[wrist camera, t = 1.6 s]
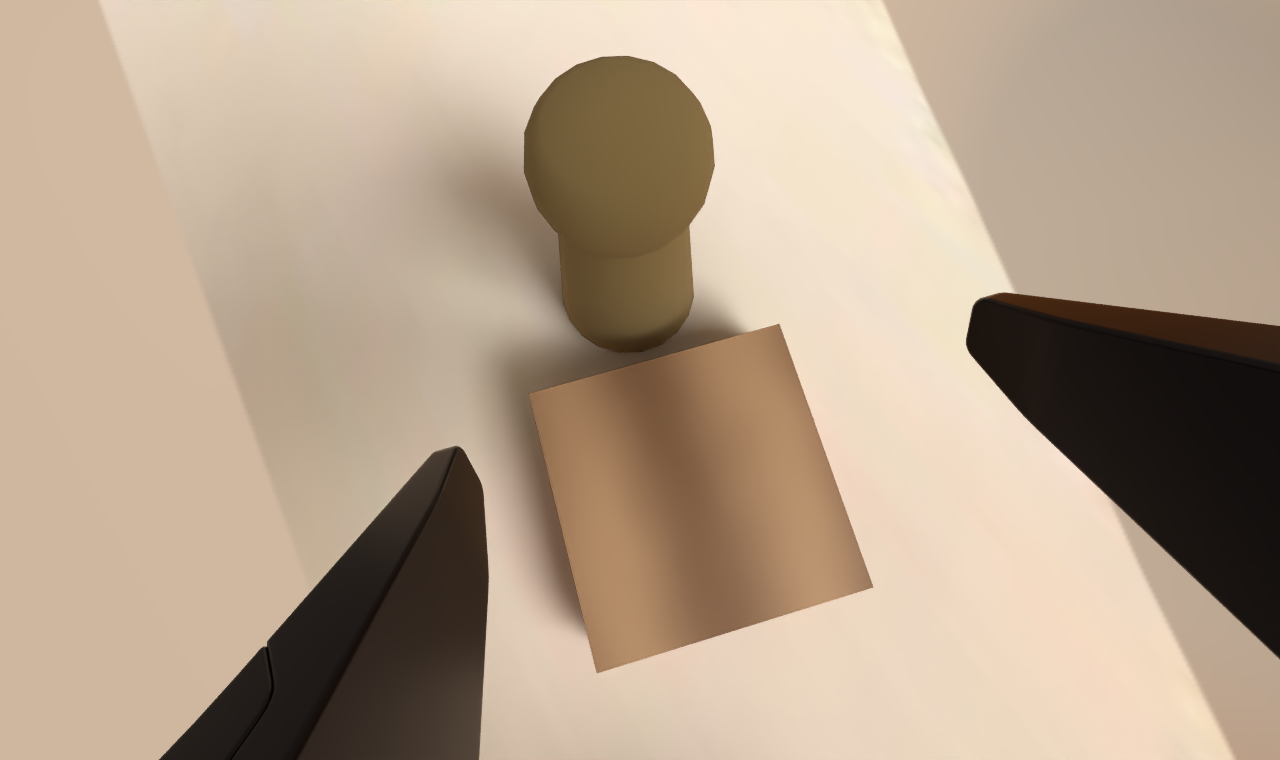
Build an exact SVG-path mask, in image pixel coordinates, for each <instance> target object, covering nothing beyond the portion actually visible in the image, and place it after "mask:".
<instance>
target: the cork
mask: <svg viewBox="0 0 1280 760" xmlns="http://www.w3.org/2000/svg"><path fill="white" fill-rule="evenodd" d="M714 167H715V164H714V150H713V138H712V131H711V126H710V123H709V121H708V119H707V117H706V114H705V112H704V110H703V108H702V105H701V103H700V102H699V100H698V99H697V98H696V96H695V95H694V94H693V93H692V92H691V91H690V89H689V88H688V87H687V86H686V85H685V84H684V83H683V82H682V81H681V80H680V79H679V78H678V77H677V76H676V75H675V74H674V73H672V72H670V71H668V70H667V69H665V68H663V67H661V66H660V65H658V64H656V63H654V62H651V61H647V60H643V59H639V58H634V57H630V56H613V57H600V58H597V59H593V60H590V61H587V62H584V63H580V64H577V65H575V66H574V67H572V68H571V69H569V70H568V71H566V72H565V73H563V74H562V75H560V76H559V77H557V78H556V79H555V80H554V81H553V82H552V83H551V85H550V86H549V87H548V88H547V89H546V91H545V92H544V93H543V94H542V95H541V97H540V98H539V100H538V101H537V103H536V105H535V106H534V108H533V111H532V114H531V116H530V119H529V121H528V124H527V127H526V129H525V132H524V174H525V177H526V179H527V182H528V185H529V188H530V191H531V194H532V196H533V199H534V201H535V204H536V206H537V209H538V210H539V212H540V213H541V214H542V215H543V217H544V218H545V219H546V220H547V222H548V223H549V224H550V225H551V226H552V228H553V229H554V230H555V231H556V232H557V233H558V236H559V250H560V264H561V278H562V292H563V302H564V305H565V308H566V311H567V313H568V316H569V319H570V321H571V322H572V323H573V324H574V326H575V327H576V328H577V330H578V331H579V332H580V333H581V335H582V336H584V337H585V338H587V339H588V340H590V341H591V342H593V343H594V344H596V345H598V346H599V347H602V348H606V349H609V350H613V351H617V352H641V351H644V350H647V349H649V348H652V347H655V346H658V345H661V344H662V343H663V342H665V341H666V340H667V339H669V338H670V337H671V336H673V335H674V334H675V333H676V332H677V331H678V330H679V328H680V327H681V326H682V324H683V323H684V321H685V320H686V318H687V317H688V315H689V312H690V308H691V304H692V301H693V297H694V293H693V277H692V261H691V246H690V231H689V225H690V223H691V222H692V220H693V219H694V218H695V216H696V215H697V213H698V212H699V211H700V209H701V208H702V206H703V205H704V203H705V199H706V196H707V192H708V189H709V185H710V182H711V178H712V174H713V170H714Z"/></svg>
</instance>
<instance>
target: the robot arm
mask: <svg viewBox="0 0 1280 760" xmlns="http://www.w3.org/2000/svg"><path fill="white" fill-rule="evenodd" d="M966 346H967V349H968V351H969V353H970V355H971V356H972V357H973V358H974V359H975V361H976V362H977V363H978V364H979V365H980V366H981V367H982V369H983V370H984V371H985V372H986V373H987V374H988V376H989V377H990V378H991V379H992V380H993V381H994V383H995V384H996V385H997V386H998V387H999V388H1000V389H1001V391H1002V392H1003V393H1004V394H1005V395H1006V396H1007V398H1008V399H1009V400H1010V401H1011V402H1012V403H1013V405H1014V406H1015V407H1016V408H1017V409H1018V410H1019V411H1020V412H1021V413H1022V415H1023V416H1024V417H1025V418H1026V419H1027V420H1028V421H1029V422H1030V423H1031V424H1032V425H1033V426H1034V427H1035V428H1036V429H1037V430H1038V431H1039V432H1040V433H1041V434H1043V435H1044V436H1045V437H1046V438H1047V439H1048V440H1049V441H1050V442H1051V443H1052V444H1053V445H1054V446H1055V447H1056V448H1057V449H1058V450H1059V451H1060V452H1062V453H1063V454H1064V455H1065V456H1066V457H1067V458H1068V459H1069V460H1070V461H1071V462H1072V463H1073V464H1074V465H1075V466H1076V467H1077V468H1078V469H1079V470H1080V471H1082V472H1083V473H1084V474H1085V475H1086V476H1087V477H1088V478H1089V479H1090V480H1091V481H1092V482H1093V483H1094V484H1095V485H1096V486H1097V487H1098V488H1099V489H1101V490H1102V491H1103V492H1104V493H1105V494H1106V495H1107V496H1108V497H1109V498H1110V499H1111V500H1112V501H1113V502H1114V503H1115V504H1116V505H1117V506H1118V507H1120V508H1121V509H1122V510H1123V511H1124V512H1125V513H1126V514H1127V515H1128V516H1129V517H1130V518H1131V519H1132V520H1133V521H1134V522H1135V523H1136V524H1137V525H1138V526H1140V527H1141V528H1142V529H1143V530H1144V531H1145V532H1146V533H1147V534H1148V535H1149V536H1150V537H1151V538H1152V539H1153V540H1154V541H1155V542H1157V543H1158V544H1159V545H1160V546H1161V547H1162V548H1163V549H1164V550H1165V551H1166V552H1167V553H1168V554H1169V555H1170V556H1171V557H1172V558H1173V559H1175V561H1176V562H1178V563H1179V564H1180V565H1181V566H1182V567H1183V568H1184V569H1185V570H1186V571H1187V572H1188V573H1189V574H1190V575H1191V576H1192V577H1193V578H1194V579H1195V580H1196V581H1198V582H1199V583H1200V584H1201V585H1202V586H1203V587H1204V588H1205V589H1206V590H1207V591H1208V592H1209V593H1210V594H1211V595H1212V596H1213V597H1214V598H1215V599H1217V600H1218V601H1219V602H1220V603H1221V604H1222V605H1223V606H1224V607H1225V608H1226V609H1227V610H1228V611H1229V612H1230V613H1232V615H1233V616H1234V617H1235V618H1237V619H1238V620H1239V621H1240V622H1241V623H1242V624H1243V625H1244V626H1245V627H1246V628H1247V629H1248V630H1249V631H1250V632H1251V633H1252V634H1253V635H1254V636H1256V637H1257V638H1258V639H1259V640H1260V641H1261V642H1262V643H1263V644H1264V645H1265V646H1266V647H1267V648H1268V649H1269V650H1270V651H1272V653H1273V654H1275V655H1276V656H1277V657H1278V658H1279V659H1280V326H1275V325H1267V324H1259V323H1250V322H1242V321H1233V320H1226V319H1217V318H1210V317H1201V316H1193V315H1185V314H1177V313H1169V312H1160V311H1152V310H1144V309H1136V308H1127V307H1120V306H1111V305H1103V304H1095V303H1087V302H1079V301H1070V300H1062V299H1053V298H1045V297H1037V296H1029V295H1021V294H1013V293H997V294H994V295H990V296H987V297H983V298H980V299H979V300H977V301H976V302H975V304H974V305H973V308H972V312H971V317H970V322H969V327H968V332H967V337H966ZM488 582H489V573H488V554H487V539H486V524H485V509H484V495H483V488H482V485H481V482H480V480H479V478H478V476H477V474H476V472H475V470H474V468H473V467H472V465H471V463H470V461H469V459H468V457H467V455H466V454H465V452H464V450H463V449H462V448H461V447H458V446H454V447H450V448H446V449H443V450H439V451H436V452H434V453H433V454H432V455H431V456H430V457H429V458H428V459H427V460H426V461H425V462H424V464H423V465H422V466H421V467H420V468H419V469H418V470H417V472H416V473H415V474H414V475H413V476H412V477H411V478H410V480H409V481H408V482H407V483H406V484H405V485H404V486H403V488H402V489H401V490H400V491H399V492H398V493H397V494H396V495H395V497H394V498H393V499H392V500H391V501H390V502H389V503H388V505H387V506H386V507H385V508H384V509H383V510H382V511H381V513H380V514H379V515H378V516H377V517H376V518H375V519H374V521H373V522H372V523H371V524H370V525H369V526H368V527H367V528H366V530H365V531H364V532H363V533H362V534H361V535H360V536H359V538H358V539H357V540H356V541H355V542H354V543H353V544H352V546H351V547H350V548H349V549H348V550H347V551H346V552H345V554H344V555H343V556H342V557H341V558H340V559H339V560H338V561H337V563H336V564H335V565H334V566H333V567H332V568H331V569H330V571H329V572H328V573H327V574H326V575H325V576H324V577H323V579H322V580H321V581H320V582H319V583H318V584H317V585H316V586H315V588H314V589H313V590H312V591H311V592H310V593H309V594H308V596H307V597H306V598H305V599H304V600H303V602H301V604H300V605H299V606H298V607H297V608H296V609H295V610H294V612H293V613H292V614H291V615H290V616H289V617H288V618H287V619H286V621H285V622H284V623H283V624H282V625H281V626H280V627H279V629H278V630H277V631H276V632H275V633H274V634H273V635H272V637H271V638H270V639H269V640H268V642H267V647H262V648H261V649H260V650H259V651H258V652H257V653H256V655H255V656H254V657H253V658H252V659H251V660H250V661H249V663H248V664H247V665H246V666H245V667H244V668H243V669H242V670H241V672H240V673H239V674H238V675H237V676H236V677H235V678H234V680H233V681H232V682H231V683H230V684H229V685H228V686H227V687H226V688H225V690H224V691H223V692H222V693H221V694H220V695H219V696H218V697H217V699H215V700H214V702H213V703H212V704H211V705H210V706H209V707H208V708H207V709H206V710H205V712H204V713H203V714H202V715H201V716H200V717H199V718H198V719H197V720H196V722H195V723H194V724H193V725H192V726H191V727H190V728H189V729H188V730H187V731H186V732H185V733H184V734H183V735H182V736H181V737H180V738H179V739H178V740H177V742H176V743H175V744H174V745H173V746H172V747H171V748H170V749H169V750H168V751H167V752H166V753H165V754H164V755H163V756H162V757H161V758H160V759H159V760H479V751H480V733H481V714H482V696H483V678H484V660H485V642H486V624H487V605H488Z"/></svg>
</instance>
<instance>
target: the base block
mask: <svg viewBox="0 0 1280 760" xmlns="http://www.w3.org/2000/svg"><path fill="white" fill-rule="evenodd" d="M529 398H530V402H531V406H532V410H533V414H534V418H535V422H536V426H537V430H538V434H539V439H540V443H541V447H542V451H543V455H544V459H545V463H546V467H547V471H548V475H549V480H550V484H551V488H552V492H553V496H554V500H555V504H556V508H557V512H558V516H559V521H560V525H561V529H562V533H563V537H564V541H565V545H566V549H567V553H568V557H569V562H570V566H571V570H572V574H573V578H574V582H575V586H576V590H577V594H578V598H579V603H580V607H581V611H582V615H583V619H584V623H585V627H586V631H587V635H588V639H589V644H590V648H591V652H592V656H593V660H594V664H595V668H596V672H597V673H599V672H603V671H606V670H609V669H612V668H615V667H619V666H622V665H625V664H628V663H632V662H635V661H638V660H641V659H644V658H648V657H651V656H654V655H657V654H660V653H664V652H667V651H670V650H673V649H677V648H680V647H683V646H686V645H689V644H693V643H696V642H699V641H702V640H706V639H709V638H712V637H715V636H718V635H722V634H725V633H728V632H731V631H734V630H738V629H741V628H744V627H747V626H751V625H754V624H757V623H760V622H763V621H767V620H770V619H773V618H776V617H779V616H783V615H786V614H789V613H792V612H796V611H799V610H802V609H805V608H808V607H812V606H815V605H818V604H821V603H825V602H828V601H831V600H834V599H837V598H841V597H844V596H847V595H850V594H853V593H857V592H860V591H863V590H866V589H870V588H873V585H872V582H871V579H870V577H869V574H868V571H867V568H866V565H865V563H864V560H863V557H862V554H861V551H860V549H859V546H858V543H857V540H856V537H855V535H854V532H853V529H852V526H851V523H850V521H849V518H848V515H847V512H846V509H845V507H844V504H843V501H842V498H841V495H840V493H839V490H838V487H837V484H836V481H835V479H834V476H833V473H832V470H831V467H830V465H829V462H828V459H827V456H826V453H825V451H824V448H823V445H822V442H821V439H820V437H819V434H818V431H817V428H816V425H815V423H814V420H813V417H812V414H811V411H810V409H809V406H808V403H807V400H806V397H805V395H804V392H803V389H802V386H801V383H800V381H799V378H798V375H797V372H796V369H795V367H794V364H793V361H792V358H791V355H790V353H789V350H788V347H787V344H786V341H785V339H784V336H783V333H782V330H781V327H780V325H779V324H777V325H774V326H770V327H766V328H763V329H759V330H756V331H752V332H748V333H745V334H741V335H738V336H734V337H730V338H727V339H723V340H720V341H716V342H712V343H709V344H705V345H702V346H698V347H694V348H691V349H687V350H684V351H680V352H677V353H673V354H669V355H666V356H662V357H659V358H655V359H651V360H648V361H644V362H641V363H637V364H633V365H630V366H626V367H623V368H619V369H615V370H612V371H608V372H605V373H601V374H597V375H594V376H590V377H587V378H583V379H579V380H576V381H572V382H569V383H565V384H561V385H558V386H554V387H551V388H547V389H544V390H540V391H536V392H533V393H529Z"/></svg>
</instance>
